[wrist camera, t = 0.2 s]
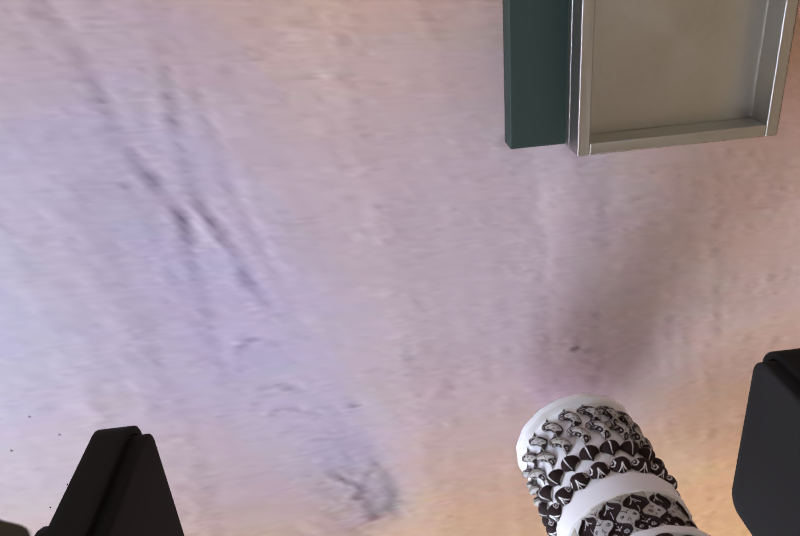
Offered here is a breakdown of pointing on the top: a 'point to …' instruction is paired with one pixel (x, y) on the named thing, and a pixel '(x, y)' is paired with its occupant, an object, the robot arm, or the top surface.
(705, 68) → the pan
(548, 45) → the scale
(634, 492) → the decorative candle
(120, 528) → the robot arm
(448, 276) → the top surface
